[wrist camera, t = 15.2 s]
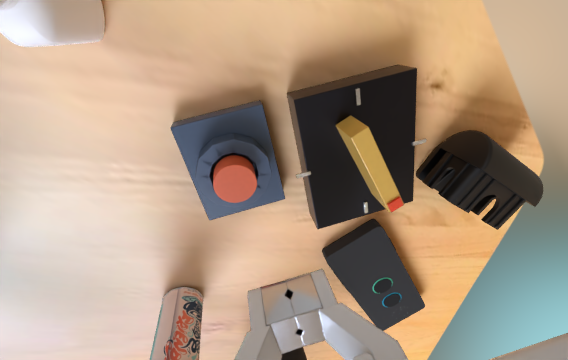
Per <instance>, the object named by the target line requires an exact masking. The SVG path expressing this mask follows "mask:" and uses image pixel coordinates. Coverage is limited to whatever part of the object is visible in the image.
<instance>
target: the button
mask: <svg viewBox="0 0 568 360" xmlns="http://www.w3.org/2000/svg"><path fill="white" fill-rule="evenodd" d="M256 187H257V179H256V175H255V171H254V167H253V165H252V164H251V162H250V161H249V160H248V159H246V158H244V157H242V156H238V155H231V156H227V157H225V158H223V159H221V160H220V161H219V162H218V163H217V164H216V166H215V168H214V174H213V188H214V191H215V193H216V194H217V195H218V197H220V198H221V199H222V200H224V201H227V202H231V203H238V202H242V201H245V200H247V199H248V198H250V197H251V196H252V195H253V193H254V192H255V190H256Z"/></svg>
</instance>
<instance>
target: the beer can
mask: <svg viewBox="0 0 568 360" xmlns="http://www.w3.org/2000/svg"><path fill="white" fill-rule="evenodd" d="M202 305H203V296H202V295H201V293H200V292H199V291H197V290H195V289H192V288H189V287H181V288H176V289H173V290H171V291H169V292H167V293H166V294H165V296H164V297H163V299H162V305H161V310H160V314H159V319H158V324H157V328H156V333H155V337H154V342H153V347H152V351H151V356H150V360H199V350H200V335H201V320H202Z"/></svg>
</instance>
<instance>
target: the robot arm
mask: <svg viewBox="0 0 568 360" xmlns="http://www.w3.org/2000/svg"><path fill="white" fill-rule="evenodd" d="M248 304H249V315H250V325H251V331H249V332H247V334H246V336H245V338H244V340H243V342H242V344H241V346H240V349H239V351H238V353H237V355H236V357H235V359H234V360H281V358H282V355H281V354H284V353H287V352H290V351H292V350H295V349H298V348H301V347H304V346H307V345H311V344H314V343H318V342H321V341H325V340H326V342H327V343H328V344H329V345H330V346H331V347H332V348H333V349H334V350H336V351H337V352H338V353H339V354H340V355H341V356H342V357H343V358H344V359H345V360H408V359H407V357H406V355H405V353H404V351H403V350H402V348H401V346H400V344H399V343H398V341H397V340H395V339H394V338H392V337H391V336H389V335H388V334H386V333H385V332H383V331H382V330H381V329H379V328H378V327H376V326H375V325H373V324H372V323H370V322H369V321H367V320H366V319H365V318H363V317H362V316H360V315H359V314H357V313H356V312H354V311H353V310H351V309H350V308H348V307H347V306H346V305H344V304H343V303H339V304H338V303H337V301H336V298H335V296H334V293H333V291H332V289H331V286H330V284H329V282H328V279H327V277H326V275H325V272H324V270H323V269H320V270H317V271H314V272H310V273H306V274H303V275H300V276H297V277H294V278H290V279H287V280H286V281H282V282H278V283H275V284H271V285H267V286H264V287H260V288H257V289H253V290H250V291H248ZM490 360H568V333H566V334H563V335H560V336H557V337H554V338H551V339H548V340H546V341H542V342H540V343H537V344H534V345H531V346H528V347H525V348H522V349H519V350H516V351H513V352H510V353H507V354H504V355H501V356H498V357H495V358H493V359H490Z"/></svg>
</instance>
